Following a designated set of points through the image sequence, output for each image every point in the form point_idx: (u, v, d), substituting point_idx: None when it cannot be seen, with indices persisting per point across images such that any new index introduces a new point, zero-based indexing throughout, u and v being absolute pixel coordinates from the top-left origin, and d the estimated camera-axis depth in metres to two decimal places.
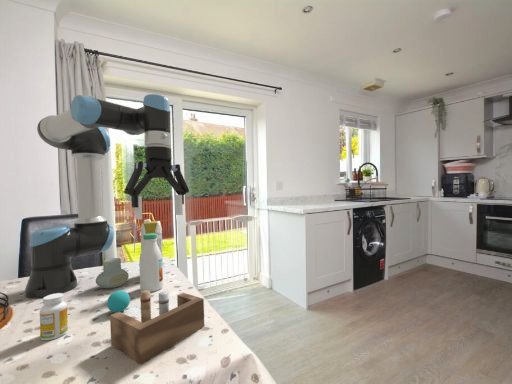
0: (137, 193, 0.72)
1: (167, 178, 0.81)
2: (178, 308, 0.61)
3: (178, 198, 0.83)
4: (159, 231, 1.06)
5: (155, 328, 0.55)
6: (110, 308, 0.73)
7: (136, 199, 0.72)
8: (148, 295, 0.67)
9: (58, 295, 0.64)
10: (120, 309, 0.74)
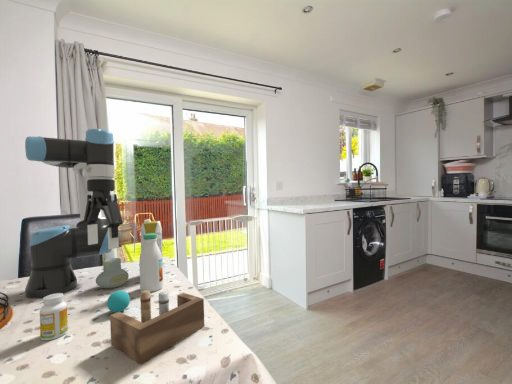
0: (87, 222, 0.85)
1: None
2: (178, 308, 0.61)
3: None
4: (159, 231, 1.06)
5: (155, 328, 0.55)
6: (110, 308, 0.73)
7: None
8: (148, 295, 0.67)
9: (58, 295, 0.64)
10: (120, 309, 0.74)
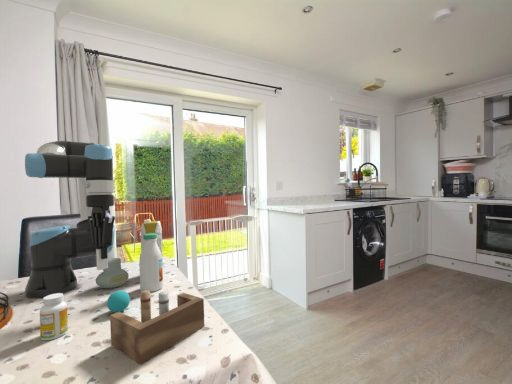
0: (95, 245, 0.81)
1: None
2: (178, 308, 0.61)
3: None
4: (159, 231, 1.06)
5: (155, 328, 0.55)
6: (110, 308, 0.73)
7: None
8: (148, 295, 0.67)
9: (58, 295, 0.64)
10: (120, 309, 0.74)
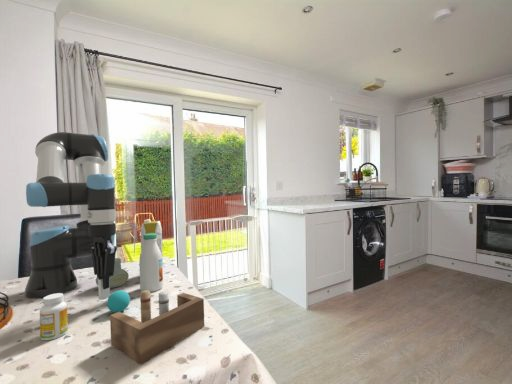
0: (97, 275, 0.80)
1: None
2: (178, 308, 0.61)
3: None
4: (159, 231, 1.06)
5: (155, 328, 0.55)
6: (110, 308, 0.73)
7: None
8: (148, 295, 0.67)
9: (58, 295, 0.64)
10: (120, 309, 0.74)
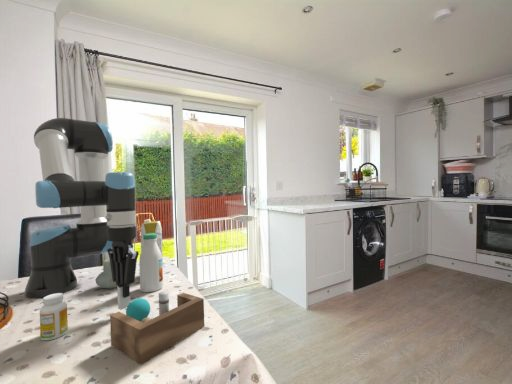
0: (116, 282, 0.74)
1: None
2: (178, 308, 0.61)
3: None
4: (159, 231, 1.06)
5: (155, 328, 0.55)
6: (127, 310, 0.68)
7: (118, 288, 0.74)
8: None
9: (58, 295, 0.64)
10: None
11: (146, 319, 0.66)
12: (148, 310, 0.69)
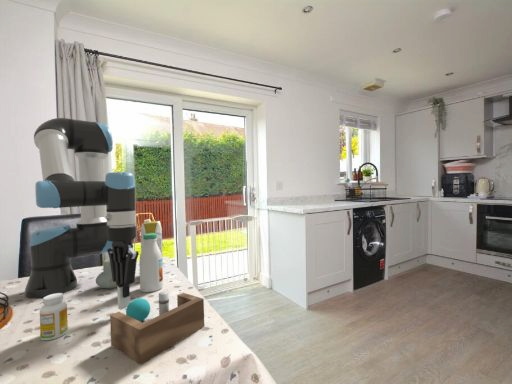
0: (116, 282, 0.74)
1: None
2: (178, 308, 0.61)
3: None
4: (159, 231, 1.06)
5: (155, 328, 0.55)
6: (127, 310, 0.68)
7: (118, 288, 0.74)
8: None
9: (58, 295, 0.64)
10: None
11: None
12: (148, 310, 0.69)
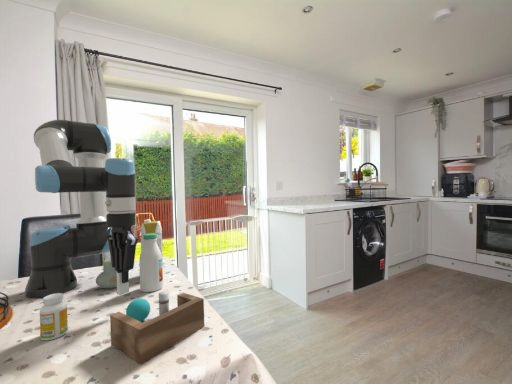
0: (115, 268, 0.74)
1: None
2: (178, 308, 0.61)
3: None
4: (159, 231, 1.06)
5: (155, 328, 0.55)
6: (127, 310, 0.68)
7: None
8: None
9: (58, 295, 0.64)
10: None
11: None
12: (148, 310, 0.69)
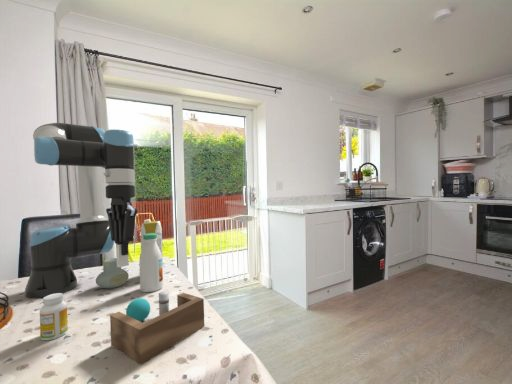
0: (115, 240, 0.74)
1: None
2: (178, 308, 0.61)
3: None
4: (159, 231, 1.06)
5: (155, 328, 0.55)
6: (127, 310, 0.68)
7: None
8: None
9: (58, 295, 0.64)
10: None
11: None
12: (148, 310, 0.69)
